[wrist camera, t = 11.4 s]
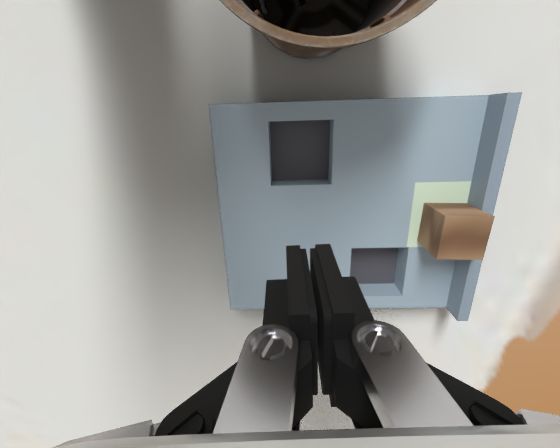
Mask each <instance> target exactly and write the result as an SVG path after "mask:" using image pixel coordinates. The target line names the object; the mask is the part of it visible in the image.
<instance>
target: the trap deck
mask: <svg viewBox="0 0 560 448" xmlns="http://www.w3.org/2000/svg"><path fill="white" fill-rule="evenodd" d="M521 95H522V92H519V93H503V94H494V95H477V96H447V97H417V98H387V99H357V100H327V101H297V102H267V103H237V104H209V111H210V121H211V130H212V139H213V149H214V158H215V168H216V177H217V187H218V196H219V205H220V215H221V224H222V234H223V243H224V253H225V262H226V271H227V281H228V290H229V300H230V309H264V305H265V293H266V282H267V280H276V279H287V262H286V246H290V245H300V249H306V252H307V258H308V264H309V269H310V248H315V244H330V245H331V248H332V250H333V253H334V256H335V259H336V262H337V264H338V267H339V270H340V273H341V275H342V277H350V276H354V277H355V278H356V280H357V282H358V284H359V287H360V289H361V291H362V293H363V296H364V298H365V300H366V302H367V305H368V307H369V308H431V307H446V308H447V309H448V310H449V311H450V313H451V314H452V315H453V316H454V317H455V319H456V320H457V321H468V318H469V314H470V310H471V305H472V301H473V297H474V293H475V289H476V284H477V280H478V276H479V272H480V267H481V263H482V260H455V259H436V258H434V257H433V256H432V255H431V254H430V253H429V252H428V251H427V250H426V249H425V248H424V247H423V246H422V245H421V244H420V243H419V242H418V241H417V238H418V233H419V227H420V222H421V216H422V211H423V205H424V203H467V204H469V205H471V206H473V207H476V208H478V209H480V210H482V211H484V212H486V213H488V214H490V215H493V213H494V208H495V204H496V200H497V196H498V192H499V187H500V183H501V179H502V175H503V171H504V166H505V162H506V158H507V154H508V149H509V145H510V141H511V137H512V133H513V128H514V124H515V120H516V116H517V112H518V107H519V103H520V99H521Z"/></svg>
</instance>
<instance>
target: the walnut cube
mask: <svg viewBox="0 0 560 448" xmlns="http://www.w3.org/2000/svg"><path fill="white" fill-rule="evenodd" d="M494 217H495V216H493V215H490V214H488V213H486V212H484V211H482V210H480V209H478V208H476V207H473V206H471V205H469V204H467V203H424V205H423V211H422V216H421V222H420V227H419V233H418V238H417V241H418V242H419V243H420V244H421V245H422V246H423V247H424V248H425V249H426V250H427V251H428V252H429V253H430V254H431V255H432V256H433V257H434V258H436V259H455V260H483V257H484V253H485V249H486V246H487V242H488V239H489V235H490V231H491V228H492V224H493V220H494Z"/></svg>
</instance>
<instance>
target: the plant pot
mask: <svg viewBox="0 0 560 448" xmlns="http://www.w3.org/2000/svg"><path fill="white" fill-rule="evenodd" d="M220 1H221V2H222V3H223V4H224V5H225V6H226V7H227V8H228V9H229V10H230V11H231V12H233V13H234V14H235V15H236V16H237V17H239V18H240V19H241V20H243V21H244V22H246V23H247V24H248V25H250V26H251V27H253V28H255V29H256V30H258V31H260V32H262V33H263V34H264V36H265V37H266V38H267V39H268V40H269V41H270V42H271V43H272V44H273V45H275V46H276V47H277V48H279V49H280V50H282V51H284V52H285V53H287V54H289V55H292V56H295V57H300V58H318V57H323V56H326V55H329V54H332V53H334V52H336V51H338V50H340V49H341V48H343V47H348V46H353V45H357V44H360V43H364V42H367V41H370V40H373V39H375V38H378V37H380V36H382V35H384V34H387V33H389V32H391V31H392V30H394V29H396V28H398V27H400V26H402V25H404V24H405V23H407V22H408V21H410V20H412V19H413V18H415V17H416V16H418V15H419V14H420V13H422V12H423V11H424V10H426V9H427V8H428V7H429V6H431V5H432V4H433V3H434V2H435V1H437V0H305V4H304V5H303V6H300V5H299V4H298V2H299V0H265V4H266V7H267V11H268V14H267V15H266V14H265V13H263V12H262V9H261V6H260V2H259V0H220Z"/></svg>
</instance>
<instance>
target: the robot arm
mask: <svg viewBox="0 0 560 448" xmlns="http://www.w3.org/2000/svg"><path fill="white" fill-rule="evenodd" d="M286 262H287V279H276V280H267V282H266V293H265V305H264V317H263V326H261V327H259V328H257V329H255V330H253V331H252V332H251V333H250V334H249V335H248V337H247V338H246V340H245V343H244V345H243V348H242V351H241V354H240V357H239V360H238V362H236V363H235V364H234V365H232V366H231V367H230V368H228V369H227V370H226V371H225V372H223V373H222V374H221V375H219V376H218V377H217V378H215V379H214V380H213V381H211V382H210V383H209V384H207V385H206V386H205V387H203V388H202V389H201V390H199V391H198V392H197V393H195V394H194V395H193V396H191V397H190V398H189V399H187V400H186V401H185V402H183V403H182V404H181V405H179V406H178V407H177V408H175V409H174V410H173V411H172V412H170V413H169V414H168V415H167V416H166V417H165V418H164V419H163V421H162V422H161V423H157V424H153V423H152V420H149V421H145V422H141V423H137V424H133V425H129V426H125V427H121V428H117V429H114V430H110V431H106V432H102V433H98V434H94V435H90V436H86V437H82V438H78V439H75V440H71V441H67V442H65V443H63V444H60V445H58V446H56V447H54V448H560V416H559V415H554V414H548V413H542V412H536V411H530V410H524V409H519V411H518V413H514V412H513V411H512V410H511V409H509V408H508V407H507V406H505V405H503V404H502V403H500V402H499V401H497V400H495V399H493V398H491V397H490V396H488V395H486V394H484V393H482V392H480V391H478V390H477V389H475V388H473V387H471V386H469V385H467V384H465V383H463V382H462V381H460V380H458V379H456V378H454V377H452V376H450V375H448V374H447V373H445V372H443V371H441V370H439V369H437V368H435V367H433V366H432V365H430V364H428V363H426V362H425V361H424V360H423V358H422V357H421V356H420V354H419V353H418V352H417V350H416V349H415V348H414V346H413V345H412V344H411V342H410V341H409V340H408V338H407V337H406V336H405V335H404V334H403V333H402V332H401V331H400V330H399V329H398V328H396V327H394V326H393V325H391V324H388V323H385V322H381V321H374V318H373V316H372V314H371V312H370V309H369V307H368V305H367V302H366V300H365V298H364V296H363V293H362V291H361V289H360V287H359V284H358V282H357V280H356V278H355V277H354V276H350V277H342V275H341V273H340V270H339V267H338V264H337V262H336V259H335V256H334V253H333V250H332V248H331V245H330V244H315V248H310V269H309V264H308V258H307V252H306V249H300V245H290V246H286ZM318 366H319V373H320V379H321V386H322V393H323V395H328V394H329V396H330V402H331V407H337V408H339V409H340V410H341V411H342V412H344V413H345V414H346V415H347V423H348V427H349V429H337V430H304V431H301V419H302V418H303V417H304V416H305V415H306V414H307V413H308V411H309V410H310V409H311V408H312V407H313V395H317V394H318Z"/></svg>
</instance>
